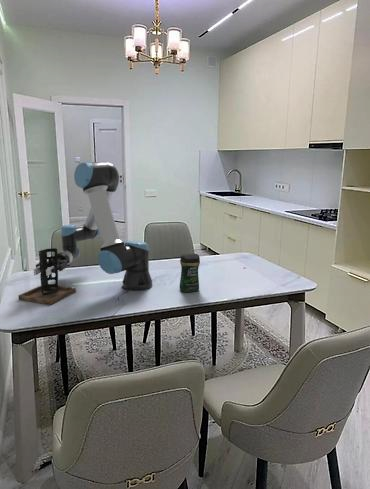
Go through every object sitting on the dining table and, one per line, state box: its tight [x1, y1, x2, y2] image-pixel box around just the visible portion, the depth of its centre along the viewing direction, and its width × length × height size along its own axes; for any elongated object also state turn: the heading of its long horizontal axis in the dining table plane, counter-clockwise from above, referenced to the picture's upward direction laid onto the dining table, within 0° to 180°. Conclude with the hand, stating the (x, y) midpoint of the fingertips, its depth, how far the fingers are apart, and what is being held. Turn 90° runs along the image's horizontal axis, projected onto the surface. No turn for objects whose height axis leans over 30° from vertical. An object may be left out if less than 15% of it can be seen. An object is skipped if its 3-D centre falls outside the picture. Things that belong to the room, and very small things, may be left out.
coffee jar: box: [179, 253, 201, 293], centre depth 183 cm, size 10×8×19 cm
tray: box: [17, 283, 77, 306], centre depth 175 cm, size 18×18×2 cm
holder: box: [38, 247, 59, 295], centre depth 172 cm, size 11×8×20 cm
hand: (40, 272), depth 167 cm, fingers closed on holder, 5 cm apart
